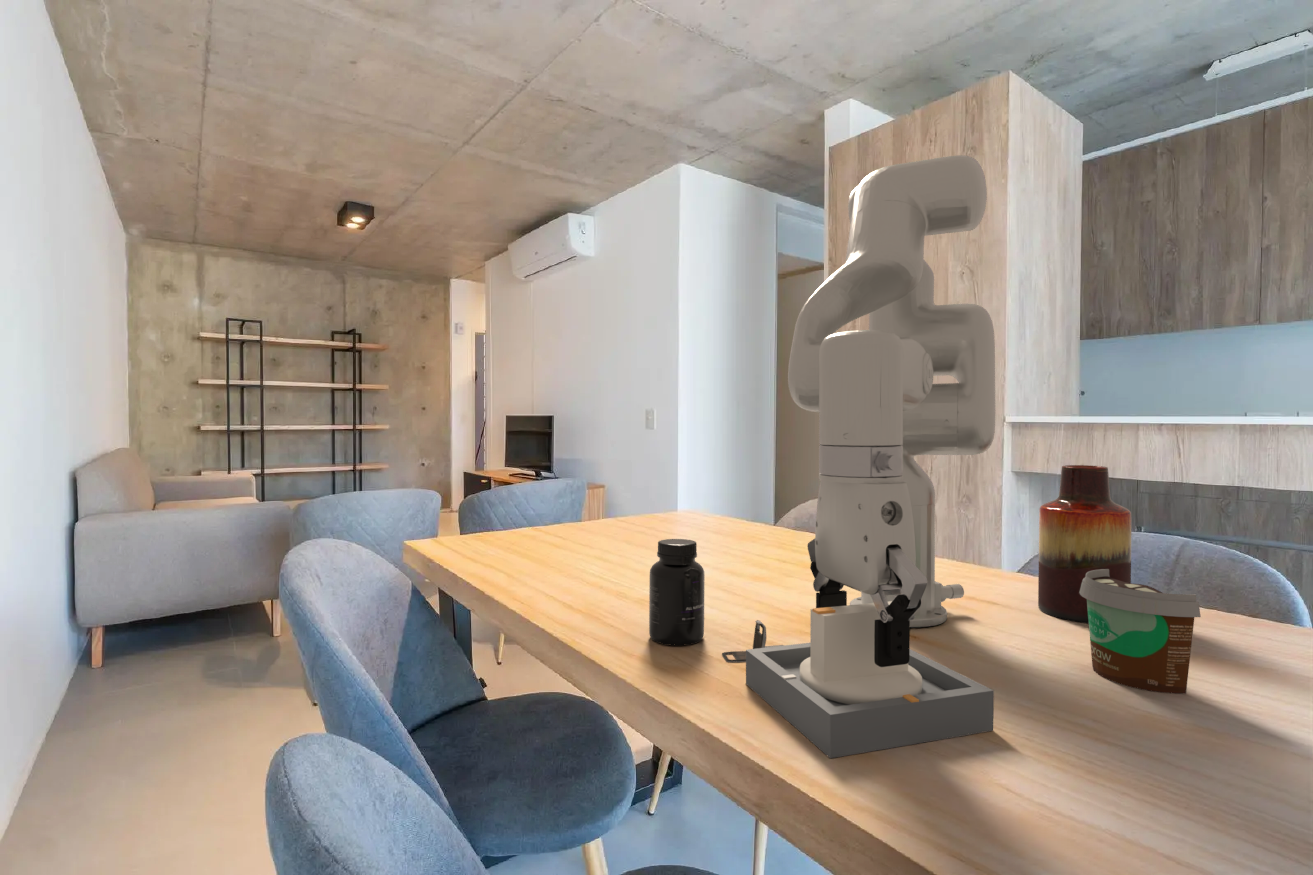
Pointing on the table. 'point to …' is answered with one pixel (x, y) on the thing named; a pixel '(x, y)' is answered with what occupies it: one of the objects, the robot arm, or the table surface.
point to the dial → (852, 658)
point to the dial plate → (870, 705)
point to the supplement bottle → (676, 594)
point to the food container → (1139, 633)
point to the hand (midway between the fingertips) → (859, 646)
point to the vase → (1080, 540)
